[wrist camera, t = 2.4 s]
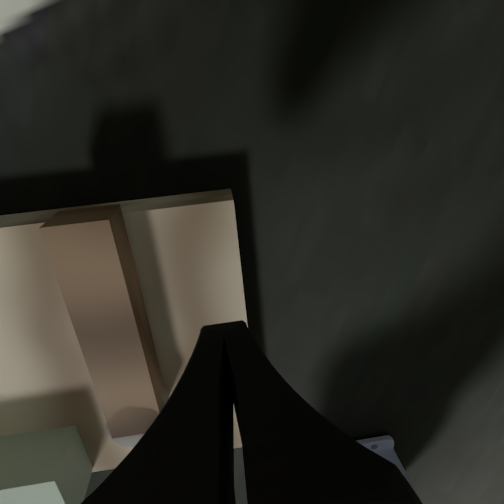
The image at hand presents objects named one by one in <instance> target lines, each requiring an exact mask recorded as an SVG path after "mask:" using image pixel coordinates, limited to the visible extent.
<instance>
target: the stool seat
mask: <svg viewBox="0 0 504 504" xmlns="http://www.w3.org/2000/svg"><path fill="white" fill-rule="evenodd" d="M115 204H120V207H121V211H122V215H123V219H124V223H125V227H126V231H127V235H128V239H129V244H130V248H131V252H132V256H133V260H134V264H135V268H136V272H137V276H138V280H139V284H140V289H141V293H142V297H143V301H144V305H145V309H146V313H147V317H148V321H149V325H150V329H151V334H152V338H153V342H154V346H155V350H156V354H157V358H158V362H159V366H160V370H161V374H162V379H163V383H164V384H165V386H166V387H167V389H168V391H169V397H170V396H171V394H172V392H173V390H174V388H175V387H176V385H177V383H178V381H179V379H180V378H181V376H182V374H183V372H184V370H185V368H186V366H187V364H188V361H189V359H190V357H191V355H192V353H193V350H194V348H195V345H196V343H197V340H198V337H199V334H200V330H201V328H202V327H203V326H205V325H212V324H219V323H226V322H233V321H240V320H243V321H244V322H245V323H246V324H247V315H246V306H245V297H244V288H243V279H242V270H241V261H240V252H239V243H238V234H237V225H236V216H235V207H234V199H233V196H232V192H231V189H223V190H214V191H206V192H197V193H189V194H180V195H172V196H163V197H154V198H146V199H137V200H129V201H120V202H111V203H103V204H94V205H86V206H77V207H69V208H60V209H51V210H43V211H34V212H26V213H17V214H8V215H0V437H3V436H9V435H15V434H22V433H28V432H34V431H41V430H47V429H53V428H60V427H66V426H72V425H76V427H77V430H78V432H79V435H80V437H81V440H82V442H83V445H84V447H85V450H86V452H87V455H88V458H89V460H90V463H91V465H92V468H93V470H92V472H96V471H102V470H108V469H114V468H116V467H117V466H118V465H119V464H120V463H121V461H122V460H123V459H124V458H125V457H126V456H127V455H128V454H129V452H130V451H131V450H132V449H133V448H130V447H125V446H122V445H119V444H117V443H116V442H114V441H113V440H112V439H111V438H110V437H109V436H108V434H107V432H106V419H105V416H104V413H103V411H102V408H101V405H100V402H99V399H98V396H97V393H96V390H95V388H94V385H93V382H92V379H91V376H90V373H89V370H88V368H87V365H86V362H85V359H84V356H83V353H82V350H81V347H80V345H79V342H78V339H77V336H76V333H75V330H74V327H73V324H72V322H71V319H70V316H69V313H68V310H67V307H66V304H65V302H64V299H63V296H62V293H61V290H60V287H59V284H58V281H57V279H56V276H55V273H54V270H53V267H52V264H51V261H50V258H49V256H48V253H47V250H46V247H45V244H44V241H43V238H42V236H41V233H40V230H39V228H40V227H41V226H42V225H43V224H44V223H45V222H46V221H48V220H49V219H50V218H51V217H52V216H53V215H54V214H56V213H57V212H58V211H64V210H73V209H81V208H90V207H98V206H107V205H115ZM247 327H248V324H247ZM233 419H234V448H239V447H242V442H241V437H240V433H239V428H238V423H237V418H236V413H235V408H234V403H233Z"/></svg>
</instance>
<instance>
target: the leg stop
mask: <svg viewBox="0 0 504 504" xmlns="http://www.w3.org/2000/svg"><path fill="white" fill-rule="evenodd" d="M92 470H93V468H92V465H91V463H90V460H89V458H88V455H87V452H86V450H85V447H84V445H83V442H82V440H81V437H80V435H79V432H78V430H77V427H76V425H72V426H66V427H60V428H53V429H47V430H41V431H34V432H28V433H22V434H15V435H9V436H3V437H0V504H81V503H82V502H83V501H84V498H85V494H86V491H87V487H88V484H89V480H90V477H91V473H92Z"/></svg>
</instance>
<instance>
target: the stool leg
mask: <svg viewBox="0 0 504 504" xmlns="http://www.w3.org/2000/svg"><path fill="white" fill-rule="evenodd" d="M39 230H40V233H41V236H42V238H43V241H44V244H45V247H46V250H47V253H48V256H49V258H50V261H51V264H52V267H53V270H54V273H55V276H56V279H57V281H58V284H59V287H60V290H61V293H62V296H63V299H64V302H65V304H66V307H67V310H68V313H69V316H70V319H71V322H72V324H73V327H74V330H75V333H76V336H77V339H78V342H79V345H80V347H81V350H82V353H83V356H84V359H85V362H86V365H87V368H88V370H89V373H90V376H91V379H92V382H93V385H94V388H95V390H96V393H97V396H98V399H99V402H100V405H101V408H102V411H103V413H104V416H105V419H106V432H107V434H108V436H109V437H110V438H111V439H112V440H113V441H114V442H116V443H117V444H119V445H122V446H125V447H130V448H134V446H135V445H136V444H137V443H138V441H139V440H140V439H141V438H142V436H143V435H144V434H145V432H146V431H147V430H148V428H149V427H150V426H151V424H152V423H153V422H154V420H155V419H156V417H157V416H158V414H159V413H160V411H161V410H162V408H163V407H164V405H165V404H166V402H167V400H168V399H169V391H168V389H167V387H166V386H165V384H164V383H163V379H162V374H161V370H160V366H159V362H158V358H157V354H156V350H155V346H154V342H153V338H152V334H151V329H150V325H149V321H148V317H147V313H146V309H145V305H144V301H143V297H142V293H141V289H140V284H139V280H138V276H137V272H136V268H135V264H134V260H133V256H132V252H131V248H130V244H129V239H128V235H127V231H126V227H125V223H124V219H123V215H122V211H121V207H120V204H115V205H107V206H98V207H90V208H81V209H73V210H64V211H58V212H57V213H56V214H54V215H53V216H52V217H51V218H50V219H49V220H48V221H46V222H45V223H44V224H43V225H42V226H41V227H40V228H39Z"/></svg>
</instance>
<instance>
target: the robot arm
mask: <svg viewBox="0 0 504 504" xmlns="http://www.w3.org/2000/svg"><path fill="white" fill-rule="evenodd" d="M233 403H234V408H235V413H236V418H237V423H238V428H239V433H240V437H241V442H242V448H243V458H244V469H245V479H246V490H247V501H248V504H422V502H421V500H420V498H419V496H418V494H417V493H416V491H415V489H414V487H413V485H412V483H411V481H410V479H409V477H408V475H407V473H406V472H405V470H404V468H403V466H402V464H401V462H400V460H399V458H398V456H397V454H396V452H395V451H394V440H393V438H392V437H391V436H389V435H385V436H379V437H373V438H367V439H362V440H354V439H353V438H351V437H350V436H348V435H347V434H345V433H344V432H343V431H341V430H340V429H339V428H337V427H336V426H335V425H334V424H332V423H331V422H330V421H328V420H327V419H326V418H325V417H323V416H322V415H321V414H320V413H318V412H317V411H316V410H315V409H314V408H313V407H311V406H310V405H309V404H308V403H307V402H306V401H305V400H304V399H303V398H302V397H301V396H300V395H299V394H298V393H296V392H295V391H294V390H293V388H292V387H291V386H290V385H289V384H288V383H287V382H286V381H285V380H284V379H283V378H282V376H281V375H280V374H279V373H278V372H277V371H276V369H275V368H274V367H273V366H272V364H271V363H270V362H269V361H268V359H267V358H266V356H265V355H264V354H263V352H262V351H261V350H260V348H259V347H258V345H257V343H256V342H255V340H254V339H253V337H252V335H251V333H250V331H249V329H248V327H247V324H246V323H245V322H244V321H243V320H240V321H233V322H226V323H219V324H212V325H205V326H203V327H202V328H201V330H200V334H199V337H198V340H197V343H196V345H195V348H194V350H193V353H192V355H191V357H190V359H189V361H188V364H187V366H186V368H185V370H184V372H183V374H182V376H181V378H180V379H179V381H178V383H177V385H176V387H175V388H174V390H173V392H172V394H171V396H170V397H169V399H168V400H167V402H166V404H165V405H164V407H163V408H162V410H161V411H160V413H159V414H158V416H157V417H156V419H155V420H154V422H153V423H152V424H151V426H150V427H149V428H148V430H147V431H146V432H145V434H144V435H143V436H142V438H141V439H140V440H139V441H138V443H137V444H136V445H135V446H134V448H133V449H132V450H131V451H130V452H129V454H128V455H127V456H126V457H125V458H124V459H123V460H122V461H121V463H120V464H119V465H118V466H117V467H116V468H115V469H114V470H113V471H112V473H111V474H110V475H109V476H108V477H107V478H106V479H105V480H104V481H103V482H102V483H101V484H100V486H99V487H98V488H97V489H96V490H95V491H94V492H92V493H91V494H90V495H89V496H88V497H87V498H86V499H85V500H84V501H83V502H82V503H81V504H236V503H235V491H234V419H233Z"/></svg>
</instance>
